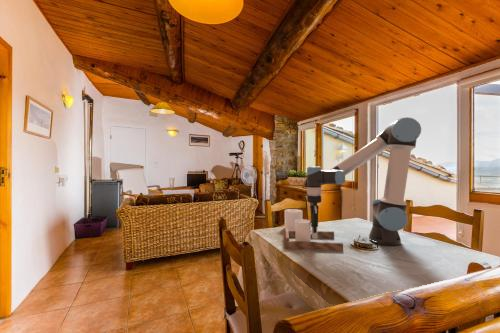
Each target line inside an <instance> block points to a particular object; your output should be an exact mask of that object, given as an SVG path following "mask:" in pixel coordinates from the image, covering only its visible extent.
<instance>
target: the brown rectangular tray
mask: <svg viewBox="0 0 500 333" xmlns="http://www.w3.org/2000/svg"><path fill="white" fill-rule="evenodd" d="M284 237H285V249H286V250H287V249H288V250H313V251H314V250H315V251H316V250H318V251H341V252H343V251H344V243H343V242H334V241H333V242H332V241H331V242H330V241H311V242H308V241H295V240H290V238H295V230H288V228H285V227H284ZM311 237H312V234H311ZM319 238H320V239H334V238H335V231H331V230H330V231H329V230H326V231H325V230H317V239H319Z"/></svg>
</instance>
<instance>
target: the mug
mask: <svg viewBox="0 0 500 333" xmlns="http://www.w3.org/2000/svg"><path fill="white" fill-rule="evenodd" d="M311 225H312V223H311V220H310V219H304V218H303V219H298V220H295V237H294V238H295V240H294V241H308V242H312V241H311V240H312V239H311V234H312V227H311Z"/></svg>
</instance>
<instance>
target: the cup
mask: <svg viewBox="0 0 500 333" xmlns="http://www.w3.org/2000/svg"><path fill="white" fill-rule="evenodd" d="M303 214H304V213H303V209H297V208H287V209H284V229H285V228H288V230H295V220H298V219H304V218H303Z"/></svg>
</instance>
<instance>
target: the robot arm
mask: <svg viewBox="0 0 500 333" xmlns="http://www.w3.org/2000/svg"><path fill="white" fill-rule="evenodd" d="M421 134H422V126H421V124H420V122H419V121H417V120H416V119H415V118H413V117H401V118H398V119H396V120H395V121H393V122H391V123H390V124H389V125H388V126H387V127H386V128H385V129H384V130H383V131H382V132H380V133H379V134H377V135H376V137H375V139H373V140H372V141H370V142H369V143H368V144H366V145H364V146H363V147H361V148H360V149H359V150H358V151H356V152H354V153H353V154H351V155H350V156H348V157H347V158H345V159H344V160H343V161H341V162H340V163H338V164H336V165H335V166H334V167H332V168H330V169H326V170H325V169H324V170H323V169H322V167H321V166H307V168H306V189H305V191H306V194H307V196H306V197H307V198H306V202H308V203H309V204H310V203H311V204H310V206H309V207H310V223H311V224H312V225H310V226H311V230H312V239H313V240H314V239H315V240H316V239H318V238H317V231H318V227H319V209H320V208H319V205H318V204H320V203H322V185H338V186H339V185H345V183H346V176H347V175H349V174H351V173H352V172H353V171H354V170H356V169H358V168H359V167H361V166H362V165H364V164H366V163H367V162H369V161H370V160H372V159H373V158H375V157H376V156H378V155H380V154H381V153H382V152H384V151H389V150H390V151H389V155H388V156H389V157H388V163H387V170H386V178H385V184H384V189H383V190H384V191H383V197H381V198H380V199H379V198H377V199H373V200H372V204H371V207H372V227H371V230H370V232H369V234H368V240H369V239H371V240H374V241H377V243H378V244H377V245H381V246H390V247H396V246H400V245H401V243H402V242H401V241H402V239H401V237H400V233H399V231H401V230H403V229H404V228H405V227H407V224H408V223H409V222H408V221H409V218H408V214H407V207H408V206H407V205H408V203H406V201H405V193H406V187H407V181H408V176H409V175H408V174H409V166H410V161H411V153H412V151H413V150H414V149H415V148H416V144H417V139H418V138H419V137H420V135H421ZM312 239H311V240H312Z"/></svg>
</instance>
